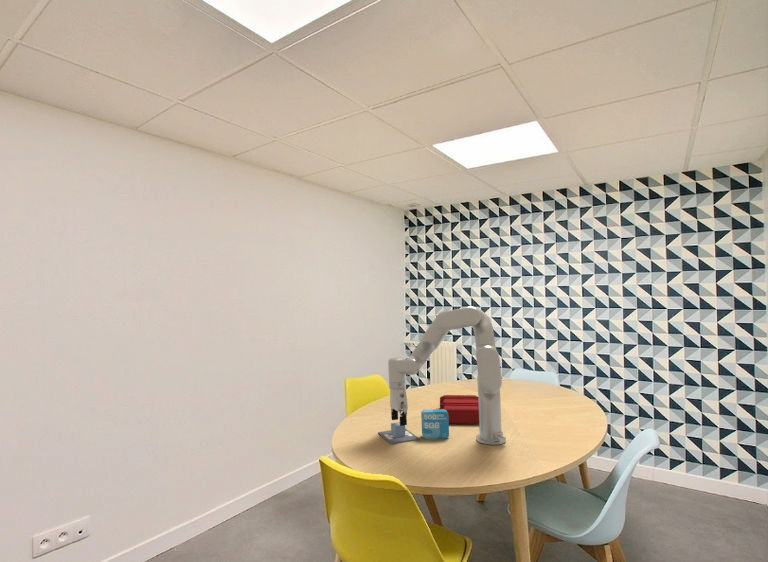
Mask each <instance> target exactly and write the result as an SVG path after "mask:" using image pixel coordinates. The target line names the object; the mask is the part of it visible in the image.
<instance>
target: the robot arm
mask: <svg viewBox="0 0 768 562" xmlns="http://www.w3.org/2000/svg"><path fill="white" fill-rule="evenodd" d="M469 327H472V329H473V332H474V333H473V334H474V340H475V341H474V342H475V358H476V367H477V368H476V369H477V377H476V378H477V379H476V381H477V397H478V402H479V424H478V426H479V428H478V429H479V430H478V431H479V434H477V435H476V437H475V440H476V441H477V442H479V443H480V444H484V445H491V446H498V445H502V444H505V443H506V441H507V437H506V436H504V431H503V429H502V405H501V388H502V384H503V381H502V371H501V369H502V368H501V361H500V359H501V358H500V354H499V352H498V350H497V347H496V340H495V333H494V327H493V323H492V321H491V318H490V317H489V316H488V315H487V313H485V312H484V311H483V310H482V309H480V308H478V307H475V306H473V305H469V306H465V307H461V308H457V309H452V310H442V311H441V312H438V313H437V315H436V317H434V319H433V321H432V322H431V324H429V326H428V328H427V329H426V330H425V332H424V333H423V335H422V336H421V337H420V340H419V342H418V344H417V345H416V346H415V348H414V350H413V351H412V352H411V354H410V355H409V356H408V358H403V357H392V358H389V359H388V364H387V366H388V367H387V368H388V385H389V386H388V387H389V392H390V393H389V398H390V399H389V402H390V411H391V412H390V415H391V421H396V420H399V422H400V426H404V425H405V426H407V425H408V421H407V420H408V419H407V418H408V417H407V416H408V415H407V414H408V409H409V406H408V397H407V391H406V387H407V386H406V375H408V376H409V375H410V376H414V375H417V374H418V373H419V372H420V371H421V368H422V367H423V365H425V363H426V361H427V360H428V358H429V357H431V354H433V352H434V351H436V349H438V347H439V346H440V345H441V343H442V342H443V340H444V339H445V338H446V336H447V335H448V333H449V332H450V331H451V330H452V331H453V330H458V329H463V328H469Z"/></svg>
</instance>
